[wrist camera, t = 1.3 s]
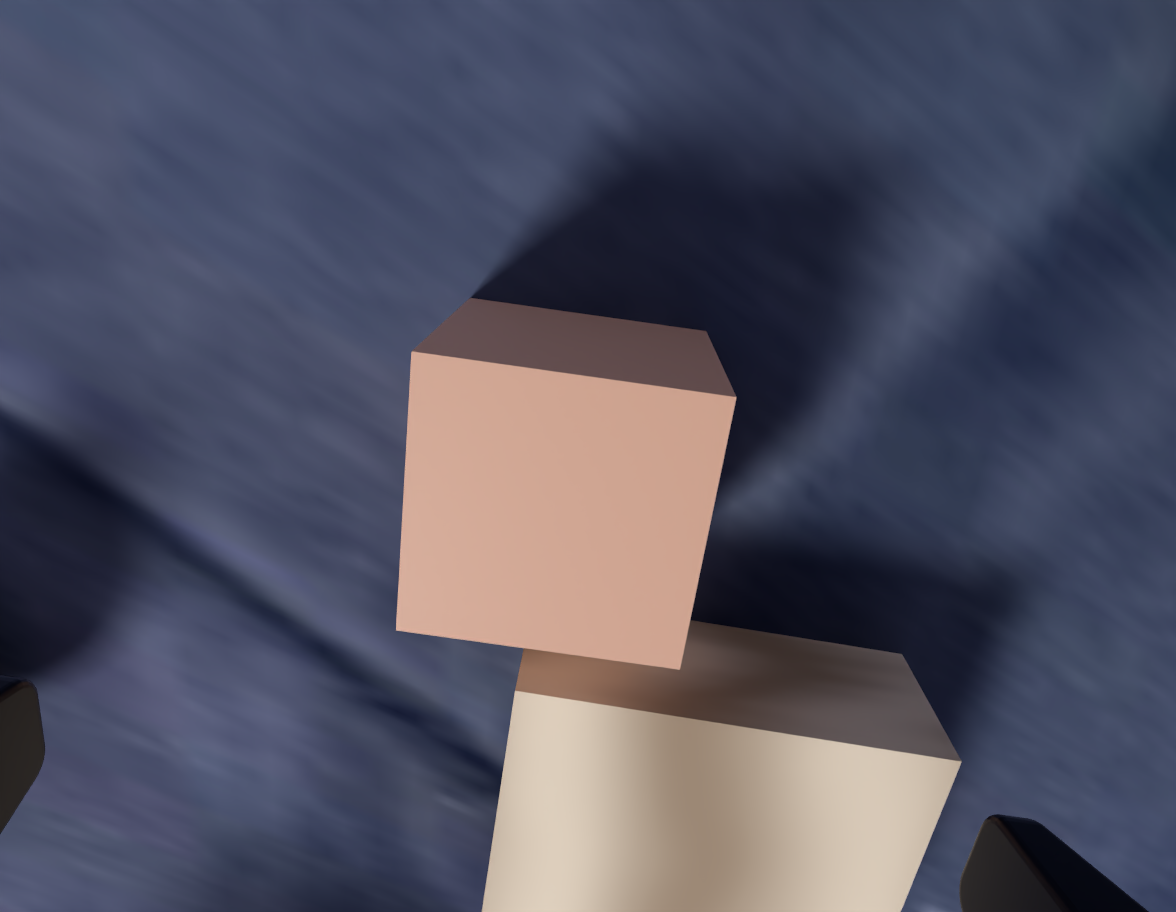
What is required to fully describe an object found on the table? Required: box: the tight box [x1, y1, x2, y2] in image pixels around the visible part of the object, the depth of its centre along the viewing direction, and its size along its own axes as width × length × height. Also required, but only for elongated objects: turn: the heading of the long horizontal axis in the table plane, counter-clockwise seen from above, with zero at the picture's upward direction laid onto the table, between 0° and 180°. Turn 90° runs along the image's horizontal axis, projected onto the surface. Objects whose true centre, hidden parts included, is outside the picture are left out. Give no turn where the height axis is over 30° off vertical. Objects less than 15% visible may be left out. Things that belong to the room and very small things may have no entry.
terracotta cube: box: [396, 298, 737, 670], centre depth 15 cm, size 5×5×5 cm
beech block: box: [482, 620, 962, 912], centre depth 19 cm, size 9×9×4 cm
